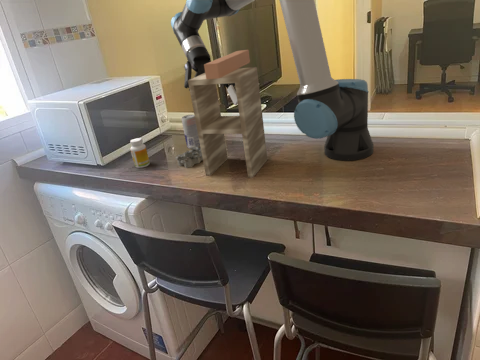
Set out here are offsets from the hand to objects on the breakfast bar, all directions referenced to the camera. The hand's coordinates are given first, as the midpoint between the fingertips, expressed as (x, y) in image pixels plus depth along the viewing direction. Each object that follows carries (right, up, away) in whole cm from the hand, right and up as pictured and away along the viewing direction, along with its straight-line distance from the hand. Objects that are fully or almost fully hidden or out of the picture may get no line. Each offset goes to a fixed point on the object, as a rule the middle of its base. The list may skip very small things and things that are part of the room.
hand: (221, 104), depth 125 cm
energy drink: (-12, -12, +24) cm, 29 cm away
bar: (+3, +8, -10) cm, 13 cm away
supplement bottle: (-29, -20, +12) cm, 37 cm away
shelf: (+5, -21, -1) cm, 22 cm away
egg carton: (-10, -19, +9) cm, 23 cm away
